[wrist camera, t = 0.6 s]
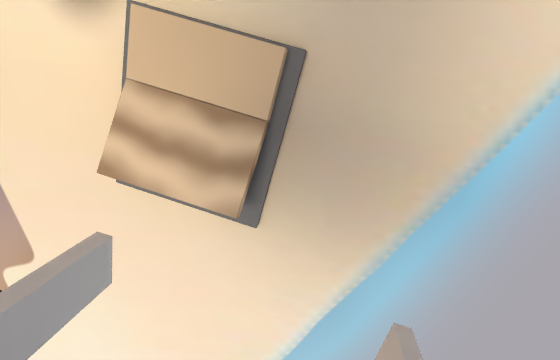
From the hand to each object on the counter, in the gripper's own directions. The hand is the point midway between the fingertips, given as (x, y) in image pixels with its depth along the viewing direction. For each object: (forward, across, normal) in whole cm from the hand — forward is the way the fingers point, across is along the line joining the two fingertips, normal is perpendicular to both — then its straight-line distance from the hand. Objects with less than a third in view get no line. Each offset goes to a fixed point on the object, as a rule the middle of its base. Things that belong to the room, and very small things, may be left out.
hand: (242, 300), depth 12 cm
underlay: (+25, -14, +2) cm, 28 cm away
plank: (+22, -14, -1) cm, 26 cm away
